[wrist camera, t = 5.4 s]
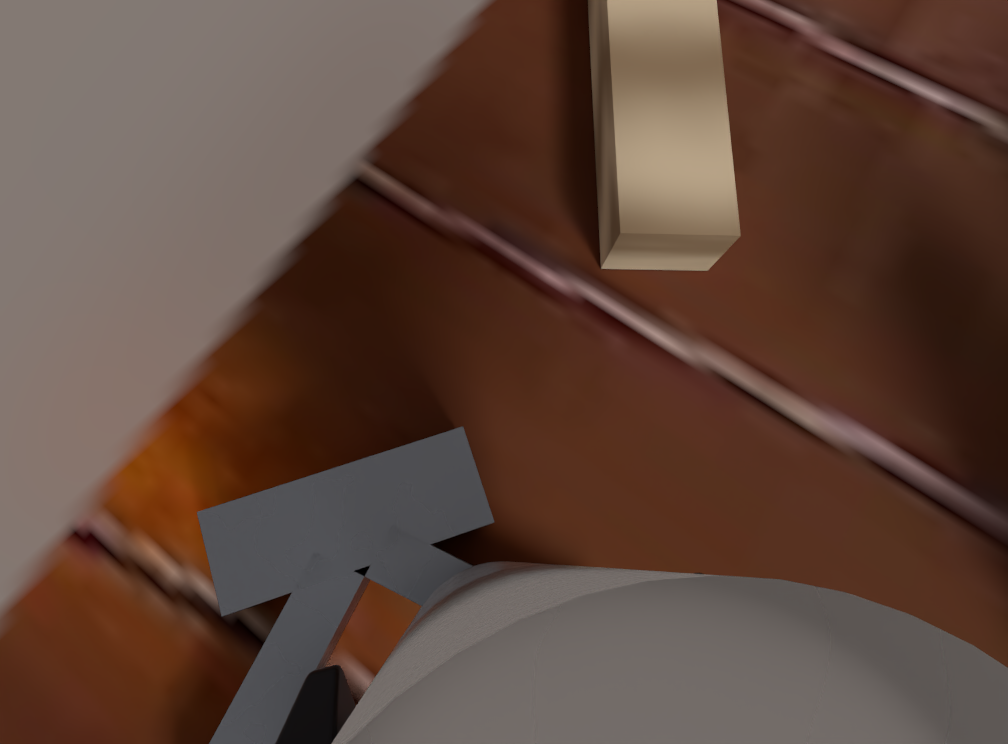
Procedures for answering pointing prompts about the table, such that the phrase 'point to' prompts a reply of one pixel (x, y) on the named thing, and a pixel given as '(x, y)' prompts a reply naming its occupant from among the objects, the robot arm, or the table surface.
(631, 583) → the grey metallic cylinder
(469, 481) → the grey flat branched piece
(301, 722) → the robot arm
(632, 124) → the beam
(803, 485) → the table surface
